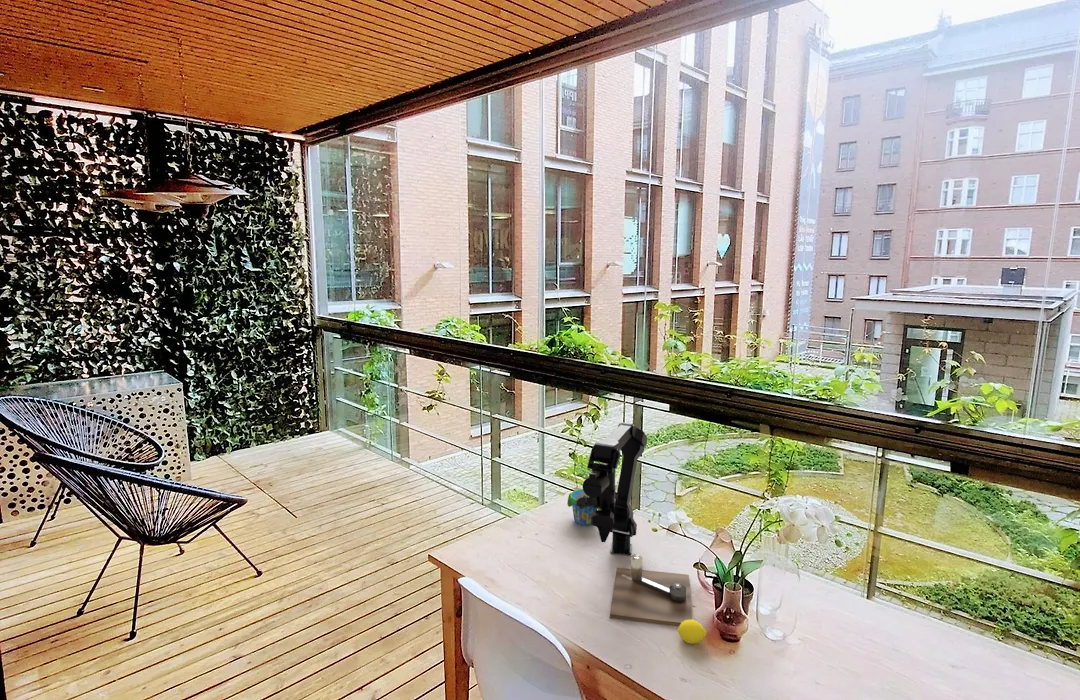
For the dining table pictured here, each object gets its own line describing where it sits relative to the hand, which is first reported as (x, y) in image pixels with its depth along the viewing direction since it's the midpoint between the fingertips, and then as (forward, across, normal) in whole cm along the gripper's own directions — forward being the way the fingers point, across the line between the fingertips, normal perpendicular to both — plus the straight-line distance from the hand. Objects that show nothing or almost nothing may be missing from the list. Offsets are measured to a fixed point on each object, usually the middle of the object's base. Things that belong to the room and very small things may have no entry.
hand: (604, 534), depth 169 cm
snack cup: (+12, -31, -10) cm, 35 cm away
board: (+12, +10, +14) cm, 21 cm away
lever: (+10, +9, +16) cm, 21 cm away
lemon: (+12, +27, +24) cm, 38 cm away
